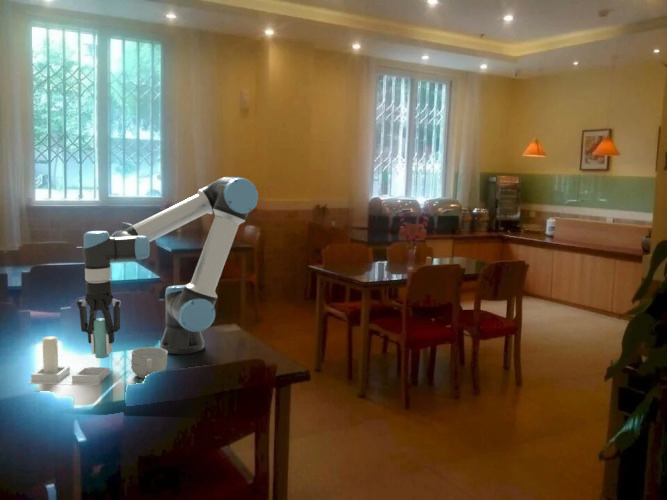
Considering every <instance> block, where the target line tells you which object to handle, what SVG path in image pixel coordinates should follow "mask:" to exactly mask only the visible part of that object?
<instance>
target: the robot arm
mask: <svg viewBox="0 0 667 500" xmlns="http://www.w3.org/2000/svg"><path fill="white" fill-rule="evenodd" d="M258 200H259V192H258V190H257V187H256V186H255V184H254V183H253V182H252V181H250V180H249V179H247V178H244V177H241V176H223V177H221V178H218V179H216V180H215V181H213V182H211V183H210V184H207V185H206V186H204V187H201V188H200V189H198V190H197V193H196V194H194V195H192V196H190V197H188V198H186V199H184V200H183V201H180V202H178V203H176V204H174V205H171V206H170V207H168V208H165V209H163V210H161V211H159V212H158V213H155V214H153V215H151V216H150V217H148V218H145V219H144V220H140V221H139V222H137V223H135V224H132V226H129V227H127V228H125V229H122V230H121V229H120V230H117V231H114V232H113V233H112V234H111V235H110V232H108V231H107V230H91V231H90V230H89V231H86V232H85V233H84V234H83V257H84V258H83V259H84V280H85V281H86V282H85V294H86V295H85V297H84V299H80V300H77V302H76V305H77V308H78V310H79V319H80V329H81V332H84V333H86V334H87V339H88V340H87V341H88V344H91V355H95V339H94V320H95V319H97V314H98V311H101V313H102V315H103V318H104V319H105V323H106V327H107V331H108V333H107V334H106V352H107V354H109V355H110V354H111V353H112V352H113V347H112V346H113V345H112V344H114V343H115V333H117V332H118V331H119V330H120V329H121V306H122V303H123V301H122V299H119V300H118V299H116V298H114V296H113V294H112V292H113V291H112V290H113V289H112V281H111V279H112V273H111V272H112V271H111V262H115V261H132V260H137V261H138V260H144V259H147V258H149V257H150V254H151V253H150V250H151V246H150V245H151V244H150V243H151V242H153V241H154V240H157V239H158V238H160V237H162V236H164V235H167V234H168V233H171V232H173V231H175V230H176V229H178V228H180V227H182V226H185V225H186V224H188V223H190V222H192V221H194V220H196V219H198V218H200V217H202V216H204V215H206V214H210V215H213V214H214V219H213V220H212V221H213V222H212V224H211V225H210V226H211V227H210V229H209V232H208V234H207V237H206V239H205V242H204V244H203V245H204V246H203V248H202V251H201V254H200V256H199V259H198V262H197V263H196V266H195V269H194V273H193V275H192V278H191V280H190V282H189V283H187V284H180V285H171V286H170V285H169V286H167V287H166V288H165V295H164V297H165V329H164V331H163V335H162V338H161V341H160V348H162V349H165V350H167V351H168V354H171V355H188V354H194V353H199V352H200V351H203V349H204V348H205V340H204V338H203V335H202V331H206V330H207V329H208V328H209V327H210V326H211V325H212V324H213V323H214V322H215V321H214V320H215V318H216V309H215V305H216V302H217V300H218V295H217V293H216V289H217V286H218V283H219V281H220V278H221V276H222V273H223V269H224V266H225V264H226V261H227V259H228V257H229V254H230V251H231V248H232V247H233V246H232V245H233V243H234V240H235V237H236V234H237V232H238V229H239V226H240V225H241V224H243V223H245V222H246V220H247V218H248V215H249V213H250V212H252V211H253V210H254V209H255V208H256V206H257V204H258ZM111 304H112V306H113V319H112V316H111V315H112V314H111V308H110V305H111ZM87 305H88V306H89V319H88V311H87Z"/></svg>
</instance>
